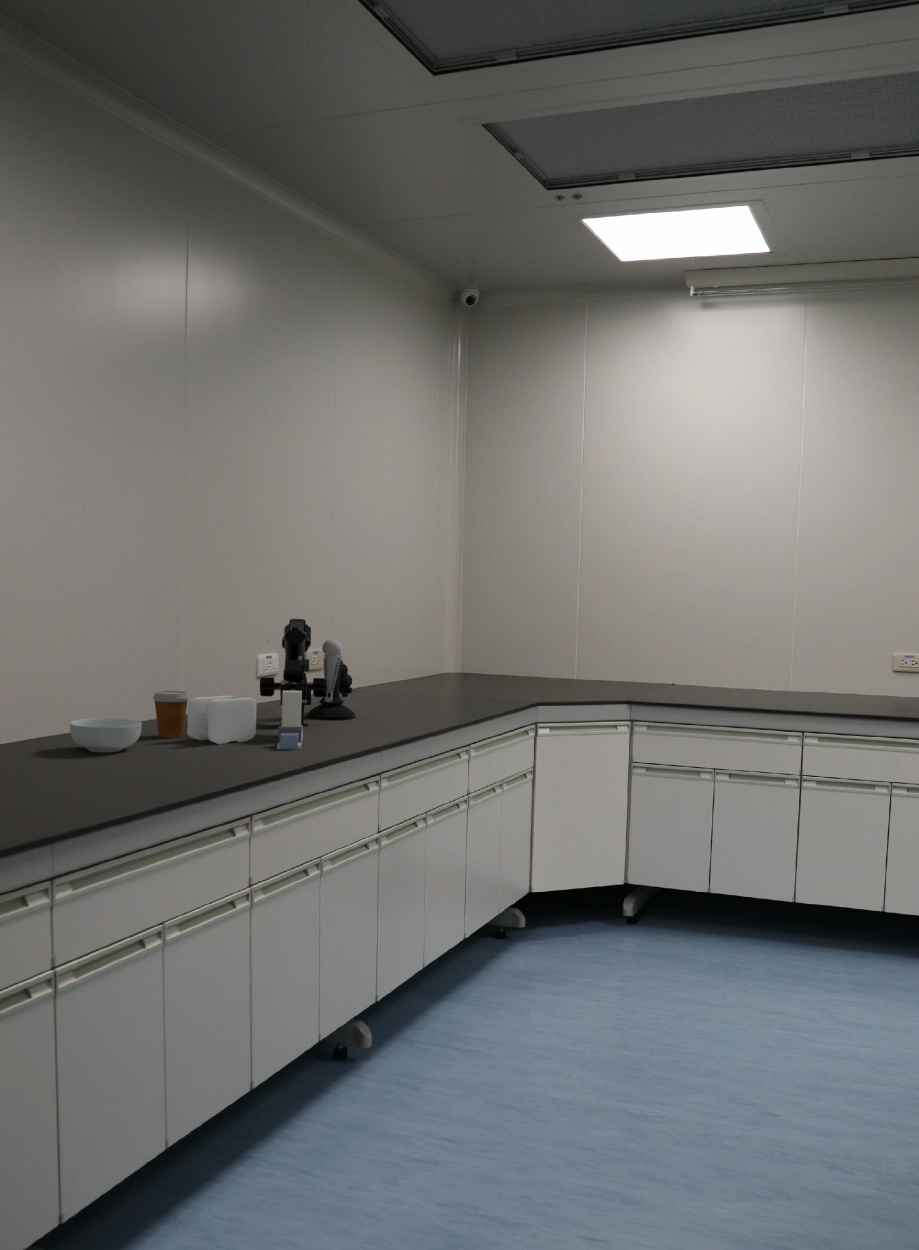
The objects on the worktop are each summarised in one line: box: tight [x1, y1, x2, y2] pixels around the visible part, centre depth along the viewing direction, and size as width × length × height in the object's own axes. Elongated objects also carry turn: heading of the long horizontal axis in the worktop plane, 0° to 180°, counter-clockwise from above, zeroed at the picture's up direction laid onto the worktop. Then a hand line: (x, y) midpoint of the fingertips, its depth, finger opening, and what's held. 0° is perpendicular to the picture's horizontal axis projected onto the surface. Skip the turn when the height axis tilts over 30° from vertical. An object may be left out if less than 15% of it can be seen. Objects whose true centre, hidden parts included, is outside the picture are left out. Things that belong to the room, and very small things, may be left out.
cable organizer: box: [186, 695, 257, 745], centre depth 278 cm, size 15×11×12 cm
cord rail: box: [276, 724, 304, 750], centre depth 279 cm, size 24×6×5 cm, turn 7°
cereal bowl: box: [69, 717, 143, 754], centre depth 259 cm, size 17×17×7 cm
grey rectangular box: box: [281, 691, 303, 726], centre depth 284 cm, size 5×5×12 cm
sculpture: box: [306, 638, 356, 721], centre depth 337 cm, size 15×24×25 cm, turn 170°
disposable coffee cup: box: [152, 690, 190, 739], centre depth 283 cm, size 10×10×12 cm
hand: (292, 710), depth 289 cm, fingers closed
